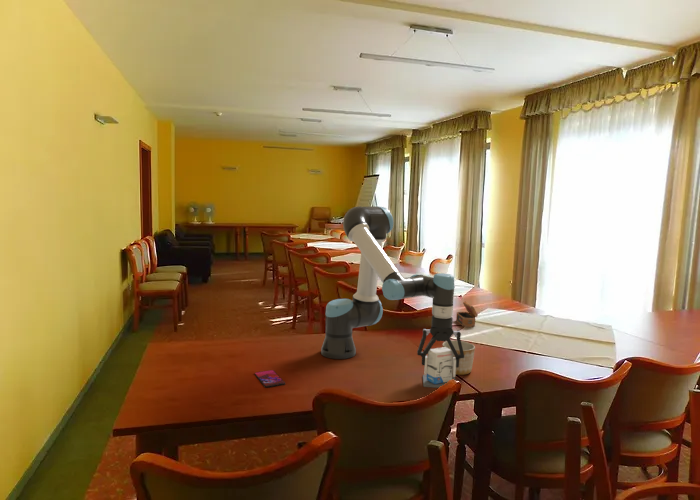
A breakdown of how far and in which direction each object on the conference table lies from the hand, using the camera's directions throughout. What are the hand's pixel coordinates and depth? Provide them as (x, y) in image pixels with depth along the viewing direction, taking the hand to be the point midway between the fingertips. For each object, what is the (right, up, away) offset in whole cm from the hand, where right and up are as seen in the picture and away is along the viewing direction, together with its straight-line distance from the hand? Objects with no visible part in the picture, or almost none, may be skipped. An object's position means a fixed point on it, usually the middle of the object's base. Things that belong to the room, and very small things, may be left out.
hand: (439, 374), depth 173 cm
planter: (+10, -2, +13) cm, 16 cm away
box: (+31, +5, +84) cm, 90 cm away
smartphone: (-64, -2, 0) cm, 64 cm away
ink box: (0, -2, 0) cm, 2 cm away
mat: (0, -3, 0) cm, 3 cm away
